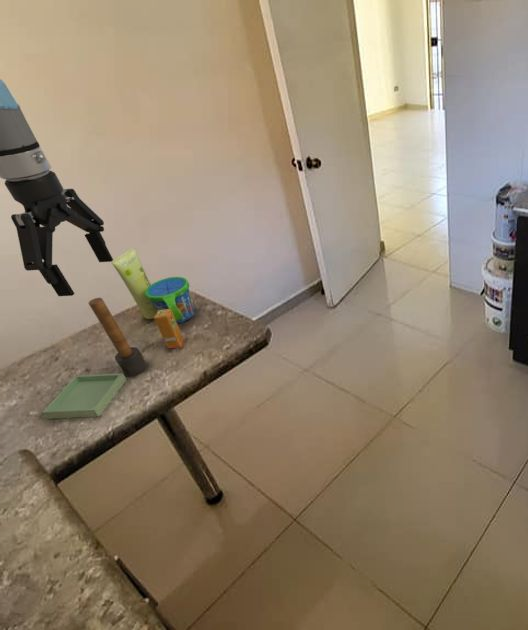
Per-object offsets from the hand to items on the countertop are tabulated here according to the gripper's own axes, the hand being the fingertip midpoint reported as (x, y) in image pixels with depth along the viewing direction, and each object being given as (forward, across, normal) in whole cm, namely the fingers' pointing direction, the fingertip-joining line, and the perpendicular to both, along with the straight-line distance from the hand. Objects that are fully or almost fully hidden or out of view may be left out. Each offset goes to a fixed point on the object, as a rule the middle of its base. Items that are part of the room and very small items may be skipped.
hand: (87, 277), depth 90 cm
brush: (+26, -1, +1) cm, 26 cm away
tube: (+26, +22, +8) cm, 35 cm away
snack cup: (+26, +21, -1) cm, 33 cm away
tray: (+26, -10, +7) cm, 28 cm away
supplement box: (+26, +8, -5) cm, 28 cm away
